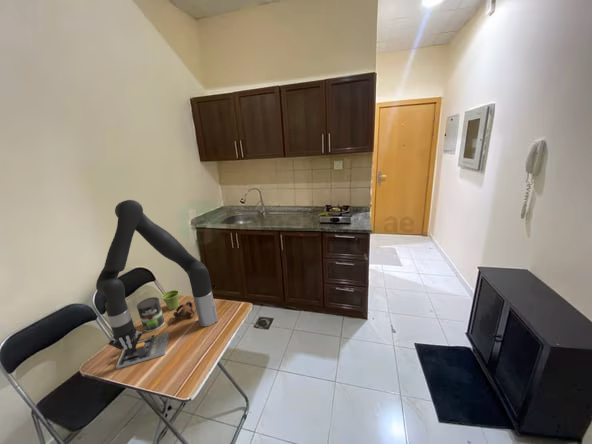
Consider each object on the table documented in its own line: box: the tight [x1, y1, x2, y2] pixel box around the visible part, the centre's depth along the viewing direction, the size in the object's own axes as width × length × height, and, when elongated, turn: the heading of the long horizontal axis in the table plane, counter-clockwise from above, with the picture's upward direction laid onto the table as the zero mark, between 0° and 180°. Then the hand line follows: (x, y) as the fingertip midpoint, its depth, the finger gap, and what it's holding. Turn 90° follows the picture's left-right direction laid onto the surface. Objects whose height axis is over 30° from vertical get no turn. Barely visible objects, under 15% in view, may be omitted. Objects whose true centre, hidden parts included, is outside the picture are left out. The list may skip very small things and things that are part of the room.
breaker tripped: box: [136, 342, 147, 357], centre depth 110 cm, size 3×2×5 cm
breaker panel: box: [115, 332, 170, 370], centre depth 115 cm, size 19×14×2 cm
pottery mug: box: [173, 301, 196, 320], centre depth 138 cm, size 12×10×8 cm
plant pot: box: [161, 289, 180, 311], centre depth 147 cm, size 9×9×9 cm
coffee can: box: [136, 296, 166, 333], centre depth 131 cm, size 10×10×14 cm
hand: (131, 354), depth 109 cm, fingers closed
